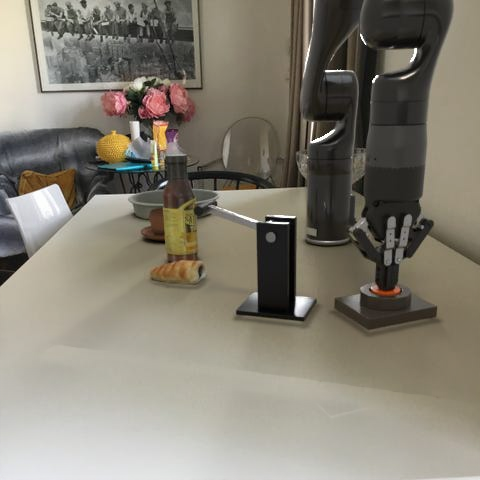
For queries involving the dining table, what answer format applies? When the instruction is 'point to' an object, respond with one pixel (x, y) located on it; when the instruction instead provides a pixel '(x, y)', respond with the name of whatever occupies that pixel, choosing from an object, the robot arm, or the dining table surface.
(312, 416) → the dining table surface
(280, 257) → the stand
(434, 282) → the dining table surface
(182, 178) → the sauce bottle
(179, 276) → the pastry
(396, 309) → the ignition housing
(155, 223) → the cup and saucer
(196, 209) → the lever
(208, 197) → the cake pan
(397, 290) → the ignition button
